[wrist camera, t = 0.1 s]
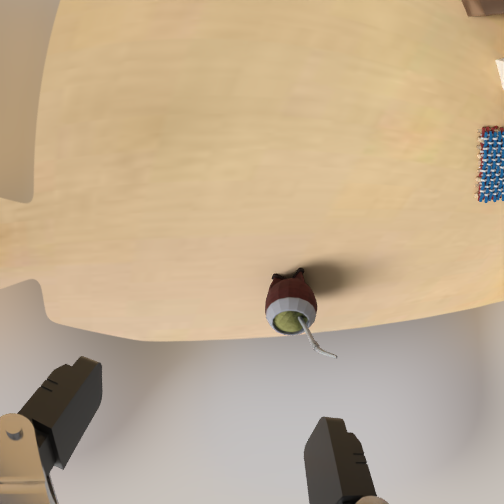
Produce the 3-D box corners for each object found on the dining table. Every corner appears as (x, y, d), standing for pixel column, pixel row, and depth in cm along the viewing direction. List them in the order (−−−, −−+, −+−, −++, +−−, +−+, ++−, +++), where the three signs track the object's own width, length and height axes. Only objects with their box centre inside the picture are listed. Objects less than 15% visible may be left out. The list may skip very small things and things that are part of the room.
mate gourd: (260, 289, 49) (249, 372, 37) (284, 252, 44) (279, 338, 32) (303, 306, 50) (302, 388, 38) (330, 272, 46) (338, 357, 34)
